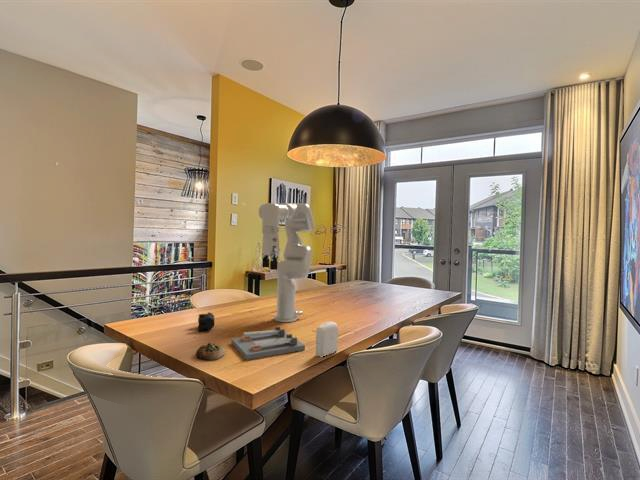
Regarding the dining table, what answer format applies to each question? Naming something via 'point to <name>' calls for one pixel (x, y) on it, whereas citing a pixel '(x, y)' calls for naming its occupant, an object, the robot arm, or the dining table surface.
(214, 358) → the bread roll
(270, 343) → the strap
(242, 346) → the clamp board
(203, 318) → the end cap
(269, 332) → the strap
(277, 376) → the dining table surface
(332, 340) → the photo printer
